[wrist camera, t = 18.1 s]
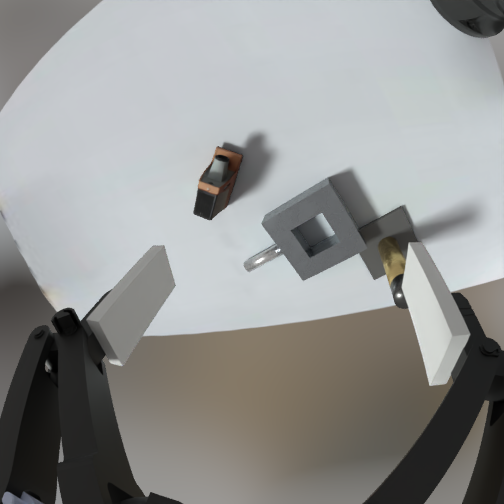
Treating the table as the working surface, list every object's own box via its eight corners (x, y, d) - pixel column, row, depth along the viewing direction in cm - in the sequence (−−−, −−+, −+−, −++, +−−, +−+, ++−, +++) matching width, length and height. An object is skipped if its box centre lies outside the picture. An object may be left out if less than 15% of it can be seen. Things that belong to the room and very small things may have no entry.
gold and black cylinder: (378, 236, 46) (396, 286, 34) (398, 236, 45) (422, 285, 33) (376, 255, 47) (392, 309, 35) (396, 255, 46) (417, 308, 34)
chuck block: (328, 177, 43) (329, 183, 40) (364, 238, 47) (367, 248, 44) (228, 238, 52) (222, 247, 49) (267, 287, 56) (264, 299, 53)
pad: (400, 206, 43) (401, 207, 42) (422, 253, 46) (422, 254, 45) (348, 234, 47) (349, 236, 47) (373, 278, 50) (374, 280, 50)
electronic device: (245, 153, 44) (232, 164, 38) (228, 207, 49) (213, 226, 43) (218, 144, 44) (201, 154, 38) (203, 198, 49) (186, 215, 43)
